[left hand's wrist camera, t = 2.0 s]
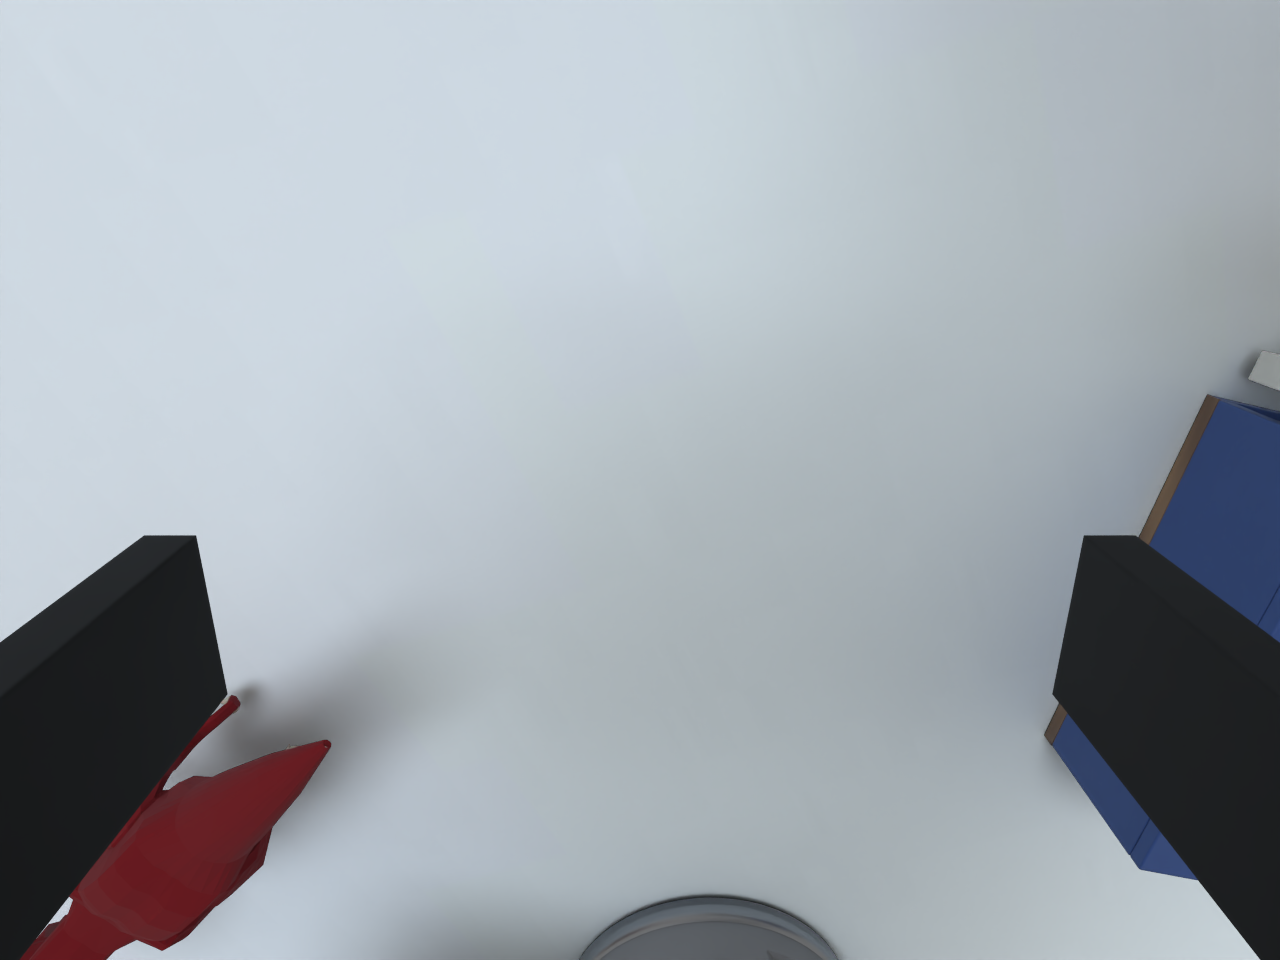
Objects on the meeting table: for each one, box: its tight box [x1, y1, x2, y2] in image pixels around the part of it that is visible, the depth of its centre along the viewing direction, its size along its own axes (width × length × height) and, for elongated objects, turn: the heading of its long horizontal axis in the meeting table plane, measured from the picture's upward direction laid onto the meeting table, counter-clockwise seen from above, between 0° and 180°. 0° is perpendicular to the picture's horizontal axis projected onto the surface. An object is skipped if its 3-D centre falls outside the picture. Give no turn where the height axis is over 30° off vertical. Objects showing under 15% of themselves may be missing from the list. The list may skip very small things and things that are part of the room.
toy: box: [20, 695, 331, 960], centre depth 33 cm, size 7×25×15 cm
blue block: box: [1044, 395, 1280, 880], centre depth 34 cm, size 17×5×8 cm, turn 167°
